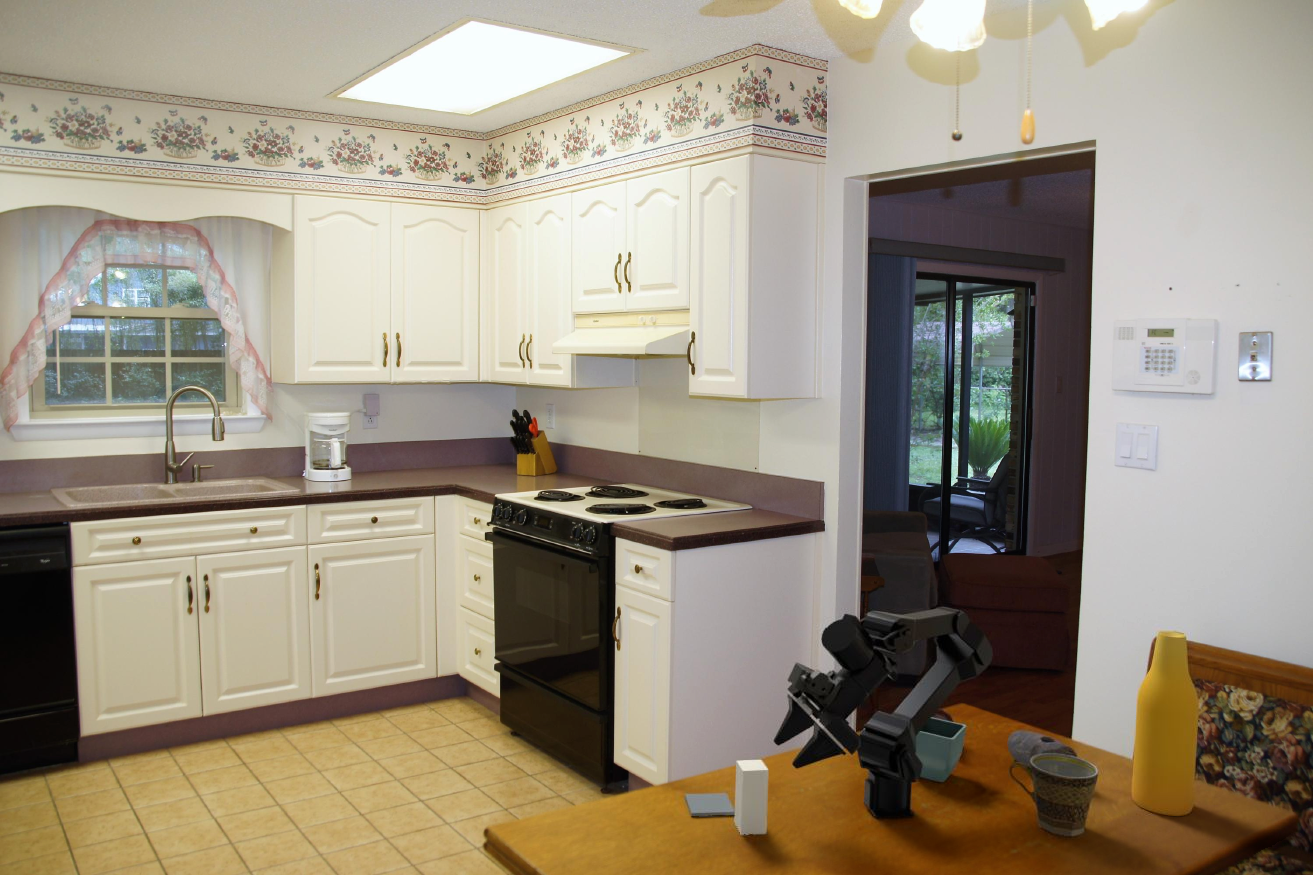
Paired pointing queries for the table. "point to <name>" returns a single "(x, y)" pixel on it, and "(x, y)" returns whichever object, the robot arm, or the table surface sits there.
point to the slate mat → (709, 804)
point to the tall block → (751, 797)
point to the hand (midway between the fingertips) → (784, 754)
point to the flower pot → (939, 748)
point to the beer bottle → (1166, 731)
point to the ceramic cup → (1060, 791)
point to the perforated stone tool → (1035, 746)
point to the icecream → (942, 715)
